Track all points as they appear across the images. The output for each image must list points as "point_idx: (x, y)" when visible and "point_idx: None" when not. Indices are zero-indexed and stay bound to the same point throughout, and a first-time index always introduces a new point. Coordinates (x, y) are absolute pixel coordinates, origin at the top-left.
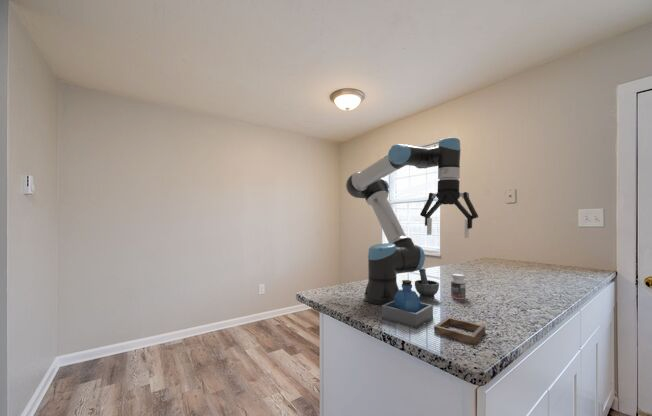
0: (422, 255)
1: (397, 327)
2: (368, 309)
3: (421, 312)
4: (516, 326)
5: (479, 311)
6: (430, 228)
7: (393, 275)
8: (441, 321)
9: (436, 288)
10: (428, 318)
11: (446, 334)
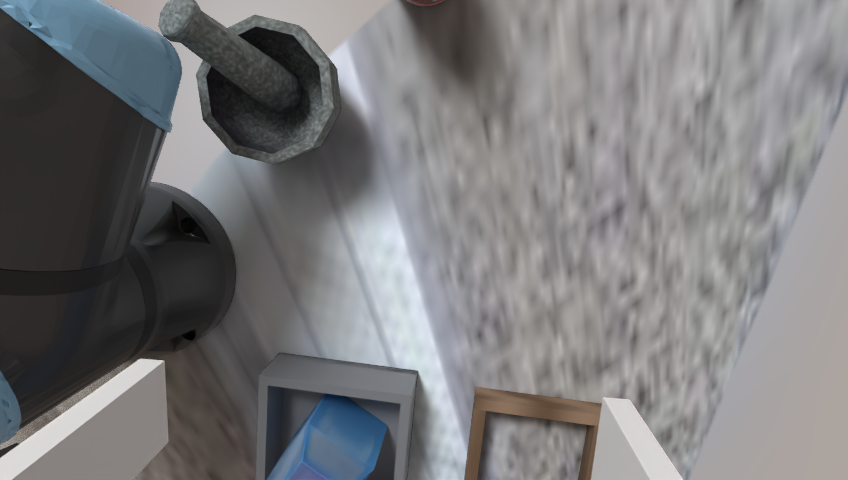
0: (131, 75)
1: None
2: (184, 412)
3: None
4: (703, 274)
5: (557, 162)
6: (113, 443)
7: (133, 326)
8: (469, 456)
9: (336, 114)
10: (412, 414)
11: None
